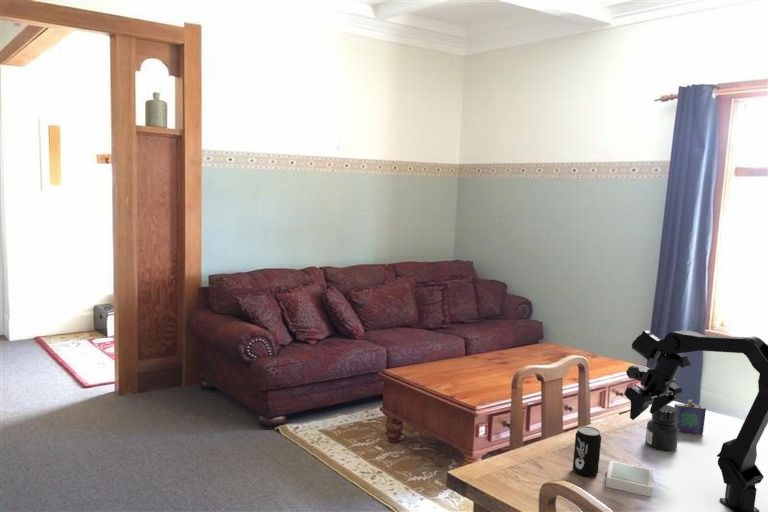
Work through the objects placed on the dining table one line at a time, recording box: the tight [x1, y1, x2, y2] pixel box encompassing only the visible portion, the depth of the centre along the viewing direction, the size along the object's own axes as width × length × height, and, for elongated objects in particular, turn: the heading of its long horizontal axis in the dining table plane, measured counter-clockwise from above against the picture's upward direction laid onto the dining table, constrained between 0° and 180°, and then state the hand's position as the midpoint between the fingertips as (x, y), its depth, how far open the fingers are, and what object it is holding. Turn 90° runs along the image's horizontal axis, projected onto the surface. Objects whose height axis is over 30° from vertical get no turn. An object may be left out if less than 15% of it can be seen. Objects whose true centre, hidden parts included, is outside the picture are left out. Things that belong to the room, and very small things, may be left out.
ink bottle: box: [644, 404, 679, 453], centre depth 192 cm, size 10×9×12 cm
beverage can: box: [572, 425, 602, 478], centre depth 172 cm, size 7×7×12 cm
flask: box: [673, 399, 707, 436], centre depth 204 cm, size 9×3×11 cm, turn 76°
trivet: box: [605, 460, 654, 498], centre depth 168 cm, size 11×11×3 cm
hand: (641, 415), depth 180 cm, fingers open, 9 cm apart
